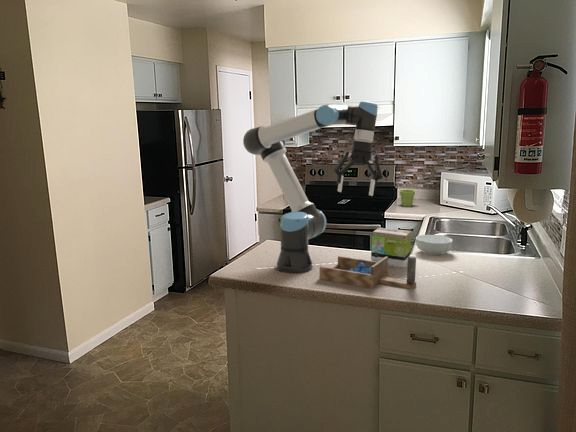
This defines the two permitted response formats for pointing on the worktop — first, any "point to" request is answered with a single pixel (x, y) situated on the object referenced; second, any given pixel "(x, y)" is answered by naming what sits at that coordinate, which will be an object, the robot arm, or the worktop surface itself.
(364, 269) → the grapes
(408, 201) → the plant pot
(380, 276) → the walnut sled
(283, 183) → the robot arm
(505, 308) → the worktop surface
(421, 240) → the cereal bowl
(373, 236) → the tea box
